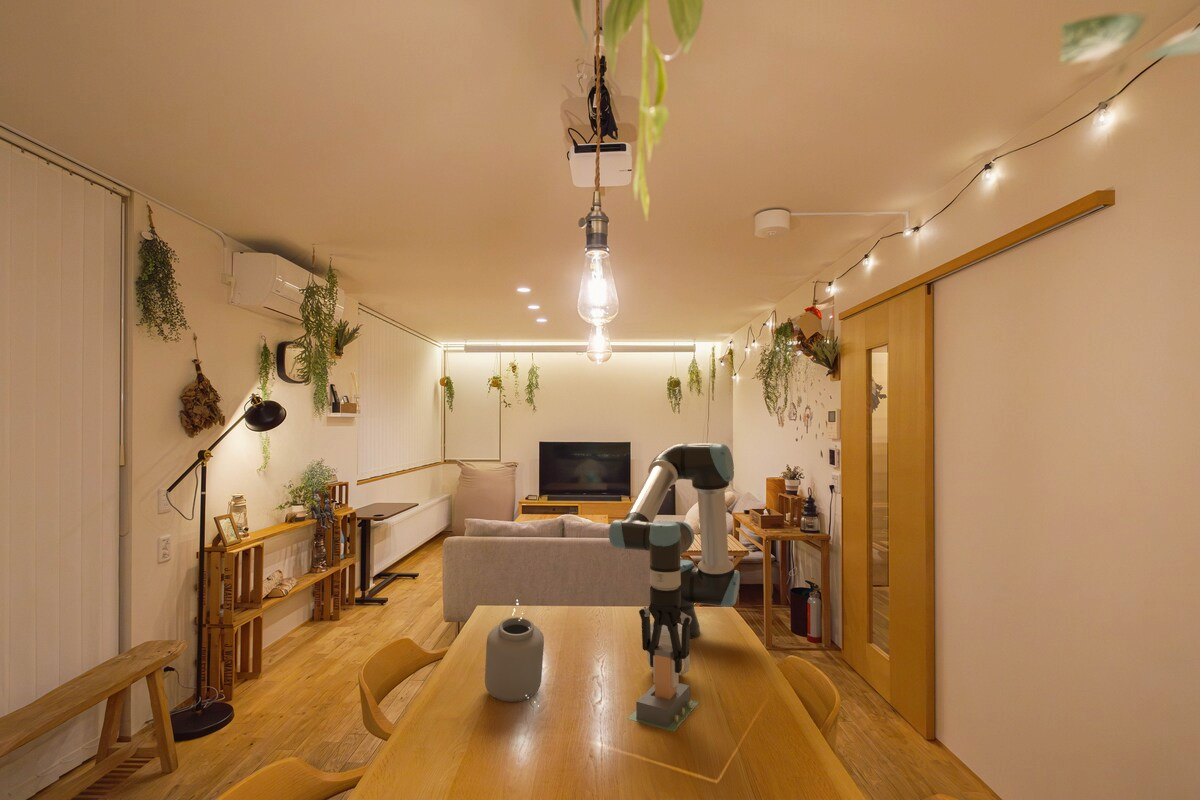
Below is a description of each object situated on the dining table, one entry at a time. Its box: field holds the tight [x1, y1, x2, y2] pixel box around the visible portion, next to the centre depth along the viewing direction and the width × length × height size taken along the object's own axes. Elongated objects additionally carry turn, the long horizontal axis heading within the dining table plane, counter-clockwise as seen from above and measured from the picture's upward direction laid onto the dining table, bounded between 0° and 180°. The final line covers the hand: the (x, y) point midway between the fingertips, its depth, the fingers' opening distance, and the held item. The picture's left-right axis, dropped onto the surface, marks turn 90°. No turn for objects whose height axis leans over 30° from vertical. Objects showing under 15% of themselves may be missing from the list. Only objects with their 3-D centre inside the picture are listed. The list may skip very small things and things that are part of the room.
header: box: [626, 682, 699, 733], centre depth 140 cm, size 16×12×4 cm
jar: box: [484, 599, 545, 708], centre depth 149 cm, size 19×15×25 cm
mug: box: [646, 621, 691, 676], centre depth 159 cm, size 15×11×13 cm
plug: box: [654, 644, 677, 700], centre depth 140 cm, size 4×4×14 cm
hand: (665, 682), depth 140 cm, fingers closed on plug, 4 cm apart
